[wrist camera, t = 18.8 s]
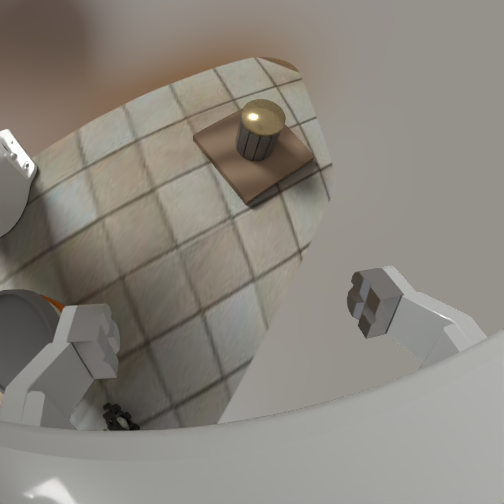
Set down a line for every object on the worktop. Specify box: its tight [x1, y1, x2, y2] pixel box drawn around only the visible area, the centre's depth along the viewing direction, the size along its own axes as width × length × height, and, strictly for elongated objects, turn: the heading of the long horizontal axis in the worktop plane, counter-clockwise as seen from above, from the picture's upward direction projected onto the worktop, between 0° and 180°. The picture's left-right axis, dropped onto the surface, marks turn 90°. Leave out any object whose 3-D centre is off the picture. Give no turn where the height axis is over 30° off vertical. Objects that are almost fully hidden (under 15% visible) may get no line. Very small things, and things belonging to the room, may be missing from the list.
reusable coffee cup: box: [0, 290, 66, 394], centre depth 30 cm, size 13×13×15 cm
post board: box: [193, 109, 314, 205], centre depth 47 cm, size 14×14×2 cm
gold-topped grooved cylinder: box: [235, 99, 285, 161], centre depth 43 cm, size 6×6×8 cm
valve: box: [102, 403, 140, 431], centre depth 32 cm, size 7×7×12 cm
